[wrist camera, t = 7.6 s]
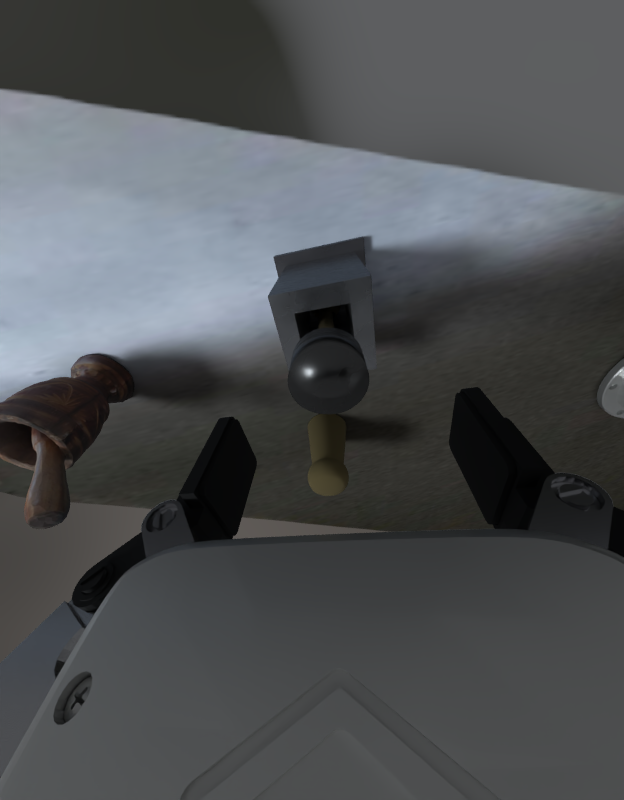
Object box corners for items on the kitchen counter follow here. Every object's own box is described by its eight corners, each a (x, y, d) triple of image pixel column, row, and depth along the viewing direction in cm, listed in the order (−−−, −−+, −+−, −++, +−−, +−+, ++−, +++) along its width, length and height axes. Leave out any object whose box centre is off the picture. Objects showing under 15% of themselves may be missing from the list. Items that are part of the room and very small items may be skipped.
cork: (349, 414, 40) (356, 474, 31) (343, 442, 43) (349, 504, 34) (308, 411, 40) (304, 471, 31) (306, 440, 43) (302, 501, 34)
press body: (362, 236, 26) (386, 255, 17) (369, 340, 33) (390, 397, 23) (274, 255, 27) (249, 283, 18) (298, 352, 34) (289, 411, 24)
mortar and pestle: (148, 349, 34) (-6, 477, 18) (170, 403, 39) (66, 540, 23) (61, 349, 35) (-165, 475, 19) (94, 402, 40) (-60, 537, 24)
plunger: (344, 274, 25) (366, 338, 13) (349, 320, 27) (371, 409, 15) (298, 283, 25) (278, 353, 13) (307, 327, 28) (297, 418, 16)
